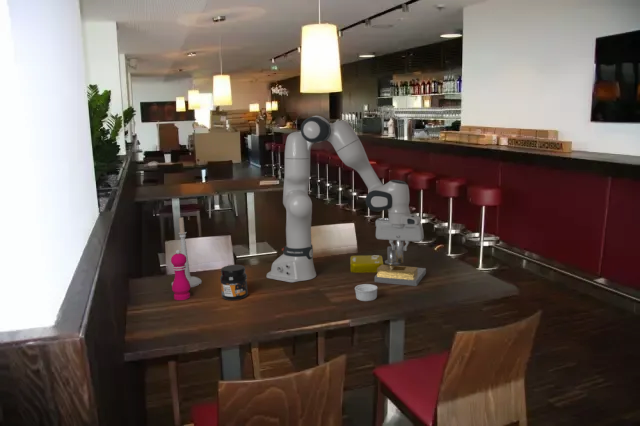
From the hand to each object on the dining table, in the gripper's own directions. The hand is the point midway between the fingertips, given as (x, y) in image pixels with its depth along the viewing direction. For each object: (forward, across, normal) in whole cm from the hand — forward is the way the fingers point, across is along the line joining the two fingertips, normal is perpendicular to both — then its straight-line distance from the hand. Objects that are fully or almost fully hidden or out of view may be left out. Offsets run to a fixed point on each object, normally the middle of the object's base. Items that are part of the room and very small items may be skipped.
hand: (399, 250), depth 223 cm
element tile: (+13, -19, +12) cm, 26 cm away
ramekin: (+13, -6, -26) cm, 30 cm away
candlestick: (+12, -87, -33) cm, 94 cm away
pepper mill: (+12, -77, -49) cm, 92 cm away
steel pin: (+5, 0, 0) cm, 5 cm away
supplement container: (+13, -57, -41) cm, 72 cm away
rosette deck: (+13, 0, +2) cm, 13 cm away
